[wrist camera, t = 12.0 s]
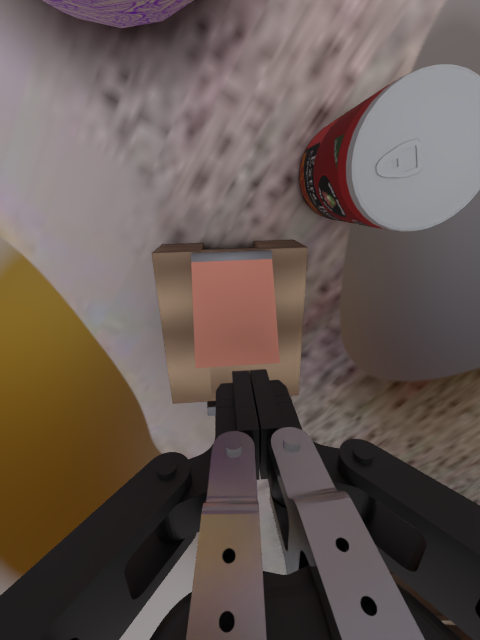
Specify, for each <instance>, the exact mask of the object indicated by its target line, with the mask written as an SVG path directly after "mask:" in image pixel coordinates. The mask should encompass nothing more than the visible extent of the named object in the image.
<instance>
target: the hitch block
mask: <svg viewBox="0 0 480 640" xmlns="http://www.w3.org/2000/svg"><path fill="white" fill-rule="evenodd" d="M264 250H271V251H272V264H273V277H274V291H275V304H276V317H277V331H278V344H279V357H280V363H273V364H256V365H240V366H223V367H207V368H195V346H194V320H193V295H192V269H191V253H210V252H237V251H264ZM307 254H308V247H306V246H304V245H302V244H300V243H299V242H297V241H295V240H273V241H254V248H238V249H211V250H204V245H203V243H188V244H162V245H161V246H160V247H159V248H157V249H156V250H155V251H154V252H153V253H152V259H153V266H154V273H155V280H156V288H157V295H158V302H159V309H160V316H161V323H162V331H163V338H164V345H165V352H166V359H167V366H168V373H169V381H170V388H171V395H172V402H173V404H175V403H190V402H204V401H216V390H217V388H218V387H219V385H220V384H221V383H232V371H242V370H249V371H250V370H258V369H266V370H267V373H268V377H269V380H280V381H281V382H282V383H283V384H284V385H285V386H286V387H287V389H288V392H289V395H290V396H293V395H298V392H299V377H300V362H301V346H302V331H303V315H304V300H305V284H306V269H307Z"/></svg>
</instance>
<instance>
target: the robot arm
mask: <svg viewBox="0 0 480 640" xmlns="http://www.w3.org/2000/svg"><path fill="white" fill-rule="evenodd" d="M259 469H260V476H261V479H268V481H269V487H270V504H271V508H272V512H273V516H274V519H275V523H276V527H277V531H278V535H279V539H280V543H281V547H282V551H283V555H284V560H285V565H286V575H280V574H275V573H270V572H265V571H263V570H262V553H261V536H260V519H259V504H258V499H257V480H259ZM380 503H381V504H380ZM383 505H384V506H385V507H384V506H383ZM387 508H388V509H387ZM390 510H391V511H390ZM394 513H395V514H394ZM397 515H398V516H397ZM400 517H401V518H402V519H401V518H400ZM404 520H405V521H404ZM407 522H408V523H407ZM410 524H411V525H412V526H411V525H410ZM414 527H415V528H414ZM197 532H199V539H198V546H197V555H196V563H195V571H194V579H193V587H192V592H191V593H189V594H188V595H187V596H185V597H184V598H183V599H182V600H180V601H179V602H178V603H177V604H176V605H175V606H174V607H173V608H172V609H171V610H170V611H169V613H168V614H167V615H166V616H165V618H164V619H163V620H162V622H161V623H160V625H159V626H158V627H157V629H156V631H155V632H154V634H153V635H152V637H151V638H150V640H462V639H461V638H460V637H459V636H457V635H456V634H455V633H454V632H453V631H452V630H451V629H450V628H448V627H447V626H446V625H445V624H444V623H443V622H442V621H441V620H440V619H438V618H437V617H436V616H435V615H434V614H433V613H432V612H431V611H430V610H428V609H427V608H426V607H425V606H424V605H423V604H422V603H421V602H420V601H418V600H417V599H416V598H415V597H414V596H413V595H411V594H410V593H409V592H408V591H406V590H405V589H404V588H402V587H401V586H400V585H398V584H396V583H395V582H394V580H393V578H392V576H391V574H390V572H389V570H388V568H389V569H390V570H391V571H392V572H393V573H395V574H396V575H397V576H398V577H399V578H400V579H402V580H403V581H404V582H405V583H406V584H408V585H409V586H410V587H411V588H412V589H414V590H415V591H416V592H417V593H418V594H419V595H421V596H422V597H423V598H424V599H425V600H427V601H428V602H429V603H430V604H431V605H433V606H434V607H435V608H436V609H437V610H438V611H440V612H441V613H442V614H443V615H444V616H446V617H447V618H448V619H449V620H450V621H452V622H453V623H454V624H455V625H456V626H457V627H459V628H460V629H461V630H462V631H463V632H465V633H466V634H467V635H468V636H469V637H471V638H472V639H473V640H480V506H479V505H478V504H476V503H474V502H473V501H471V500H469V499H467V498H466V497H464V496H462V495H460V494H459V493H457V492H455V491H453V490H452V489H450V488H448V487H447V486H445V485H443V484H441V483H440V482H438V481H436V480H434V479H433V478H431V477H429V476H427V475H426V474H424V473H422V472H420V471H419V470H417V469H415V468H414V467H412V466H410V465H408V464H407V463H405V462H403V461H401V460H400V459H398V458H396V457H394V456H393V455H391V454H389V453H388V452H386V451H384V450H382V449H381V448H379V447H377V446H375V445H374V444H372V443H370V442H367V441H365V440H361V439H350V440H347V441H345V442H343V443H342V445H341V446H340V449H338V448H333V447H328V446H323V445H320V444H317V443H315V442H313V441H312V439H311V438H310V436H309V435H308V434H307V433H306V432H304V431H303V430H302V428H301V425H300V422H299V419H298V417H297V414H296V411H295V409H294V406H293V404H292V400H291V398H290V395H289V392H288V389H287V387H286V386H285V385H284V384H283V383H282V382H281V381H280V380H269V377H268V373H267V370H266V369H258V370H250V371H249V370H242V371H232V383H221V384H220V385H219V387H218V388H217V390H216V435H215V441H214V443H213V445H212V446H211V448H210V449H209V450H207V451H206V452H205V453H203V454H201V455H199V456H197V457H194V458H191V459H187V458H186V457H185V456H184V455H182V454H180V453H177V452H168V453H164V454H161V455H159V456H157V457H155V458H154V459H153V460H152V461H150V462H149V463H148V464H147V465H146V466H145V467H144V468H143V469H142V470H140V471H139V472H138V473H137V474H136V475H135V476H134V477H133V478H131V479H130V480H129V481H128V482H127V483H126V484H125V485H124V486H122V487H121V488H120V489H119V490H118V491H117V492H116V493H115V494H114V495H112V496H111V497H110V498H109V499H108V500H107V501H106V502H105V503H103V504H102V505H101V506H100V507H99V508H98V509H97V510H96V511H95V512H93V513H92V514H91V515H90V516H89V517H88V518H87V519H86V520H85V521H83V522H82V523H81V524H80V525H79V526H78V527H77V528H76V529H74V530H73V531H72V532H71V533H70V534H69V535H68V536H67V537H65V538H64V539H63V540H62V541H61V542H60V543H59V544H58V545H57V546H55V547H54V549H52V550H51V551H50V552H49V553H48V554H46V555H45V556H44V557H43V558H42V559H41V560H40V561H39V562H38V563H36V565H34V566H33V567H32V568H31V569H30V570H29V571H27V572H26V573H25V574H24V575H23V576H22V577H21V578H20V579H18V580H17V581H16V582H15V583H14V584H13V585H12V586H11V587H10V588H8V589H7V590H6V591H5V592H4V593H3V594H2V595H1V596H0V640H119V639H120V638H121V636H122V635H123V634H124V632H125V631H126V630H127V628H128V627H129V625H130V624H131V623H132V622H133V620H134V619H135V617H136V616H137V615H138V614H139V612H140V611H141V610H142V608H143V607H144V605H145V604H146V603H147V601H148V600H149V599H150V597H151V596H152V595H153V593H154V592H155V591H156V589H157V588H158V587H159V585H160V584H161V582H162V581H163V580H164V579H165V577H166V576H167V575H168V573H169V572H170V571H171V569H172V568H173V566H174V565H175V564H176V563H177V561H178V560H179V559H180V557H181V556H182V554H183V553H184V552H185V550H186V549H187V548H188V546H189V545H190V544H191V542H192V541H193V539H194V538H195V536H196V533H197Z"/></svg>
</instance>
